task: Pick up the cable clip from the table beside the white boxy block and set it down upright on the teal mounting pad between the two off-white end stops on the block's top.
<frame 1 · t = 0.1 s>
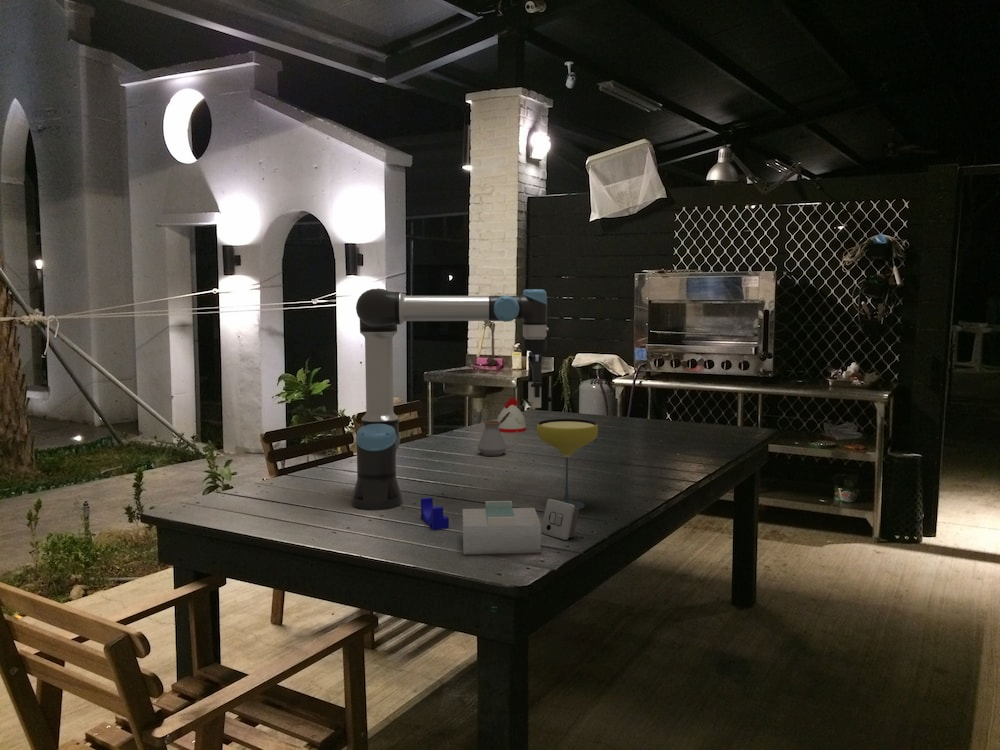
hand: (534, 404, 259), 28 cm above the table, fingers open, 13 cm apart
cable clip: (434, 524, 225), on the table
white boxy block: (500, 543, 207), on the table
coffee pot: (497, 452, 325), on the table
kitchen timer: (511, 430, 377), on the table
cocktail glass: (566, 506, 243), on the table
electrical switch: (559, 535, 214), on the table
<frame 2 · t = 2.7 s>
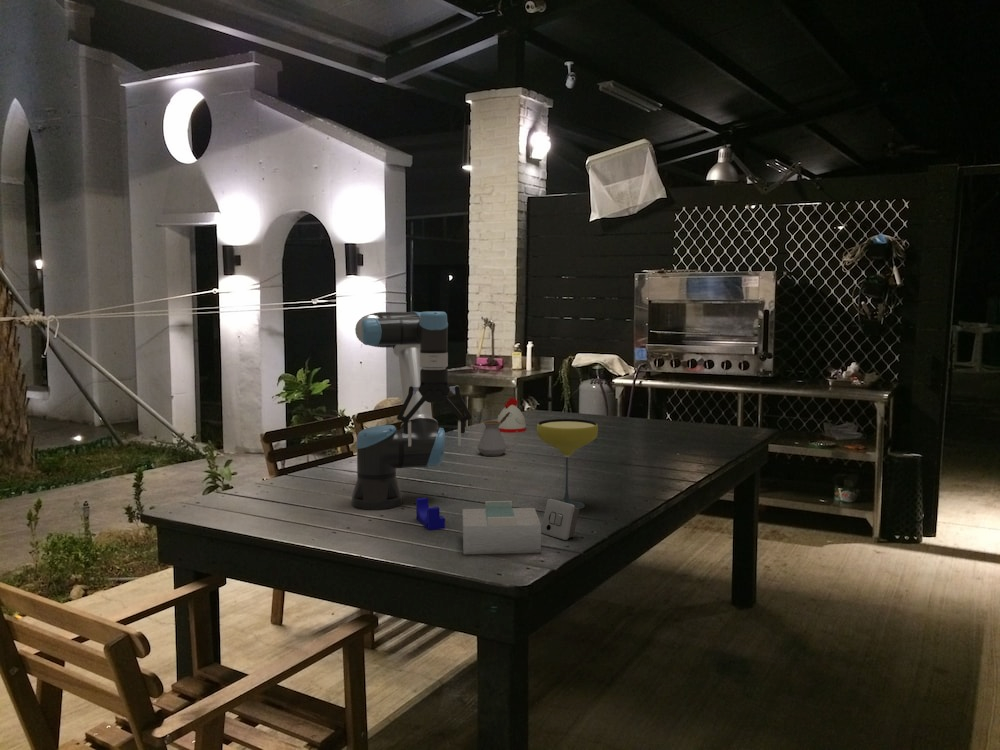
hand: (434, 445, 223), 22 cm above the table, fingers open, 13 cm apart
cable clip: (430, 524, 225), on the table
everything else where it was.
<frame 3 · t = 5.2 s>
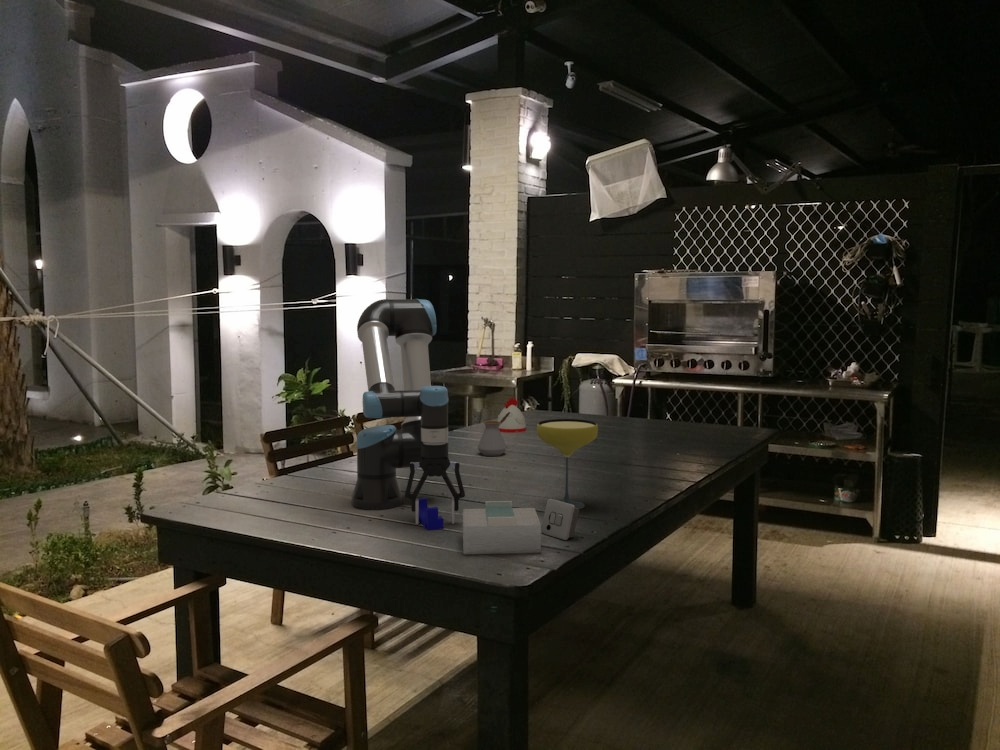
hand: (435, 522, 225), 0 cm above the table, fingers open, 9 cm apart
nothing on the table moved.
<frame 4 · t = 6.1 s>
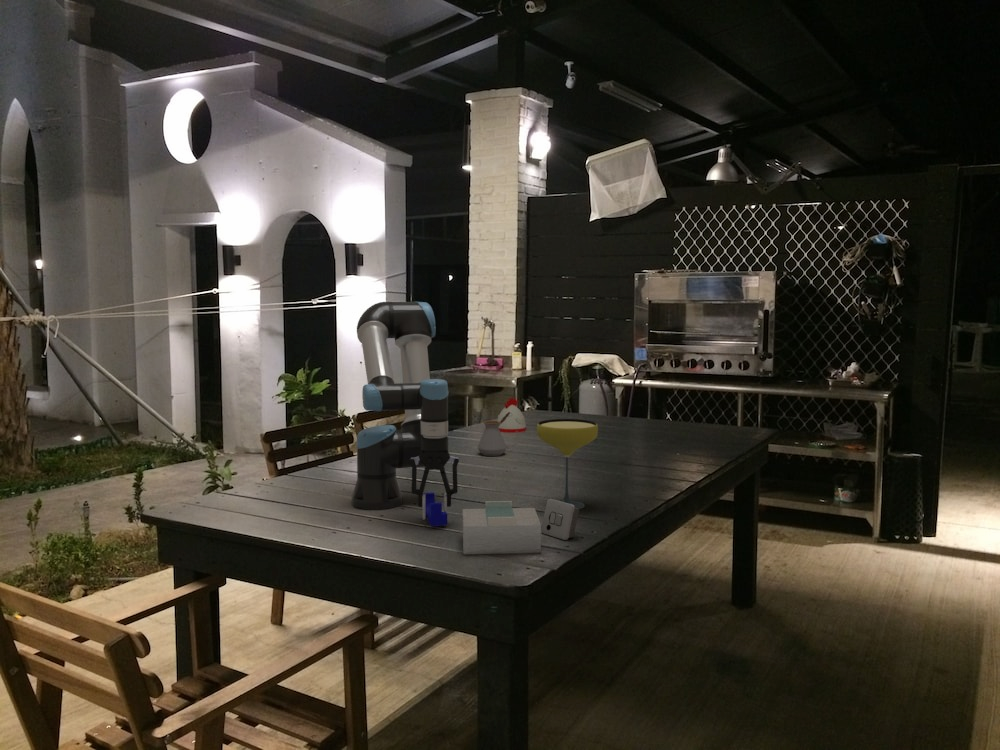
hand: (434, 517, 226), 1 cm above the table, fingers closed on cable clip, 5 cm apart
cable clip: (435, 519, 225), point 1 cm above the table, touching gripper
everything else where it was.
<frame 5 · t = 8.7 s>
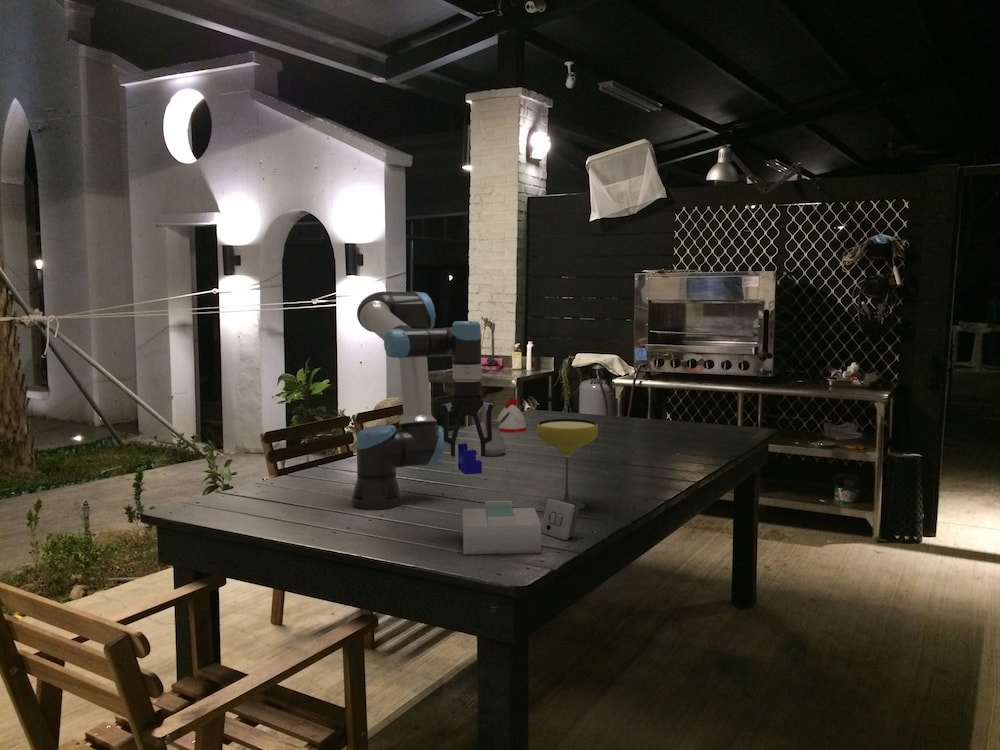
hand: (468, 468, 213), 18 cm above the table, fingers closed on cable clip, 5 cm apart
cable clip: (468, 470, 213), point 17 cm above the table, touching gripper
everything else where it was.
when the fingers open (9 cm above the table, at t = 11.3 s): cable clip stays where it is, resting on white boxy block.
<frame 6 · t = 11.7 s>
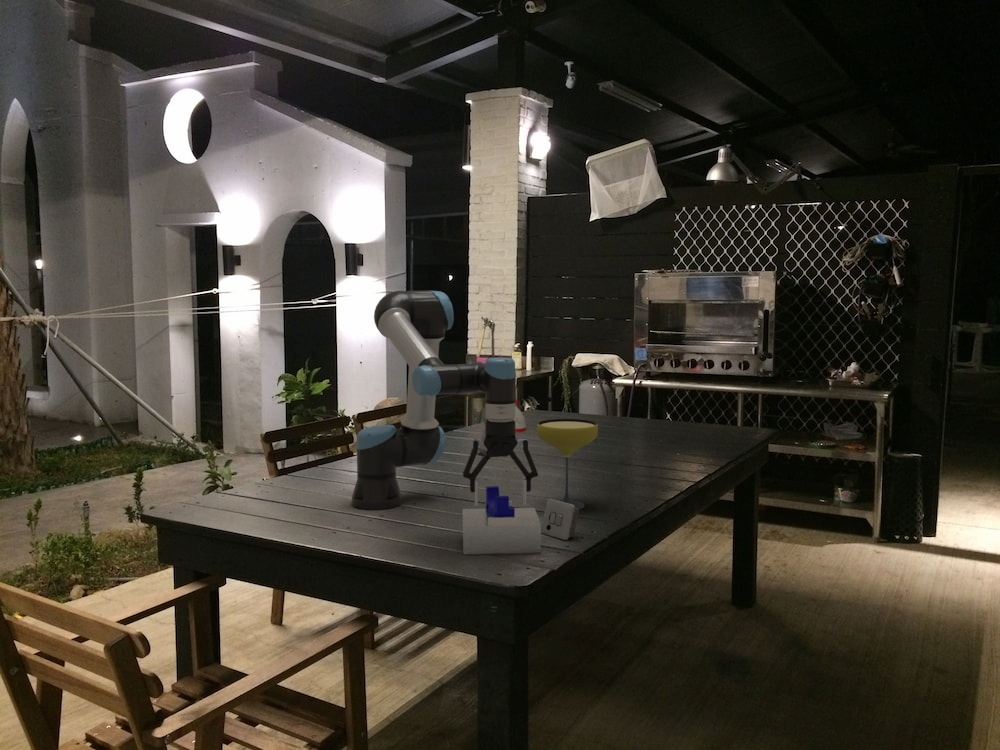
hand: (500, 504, 206), 10 cm above the table, fingers open, 11 cm apart
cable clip: (500, 515, 206), point 7 cm above the table, touching white boxy block
everything else where it was.
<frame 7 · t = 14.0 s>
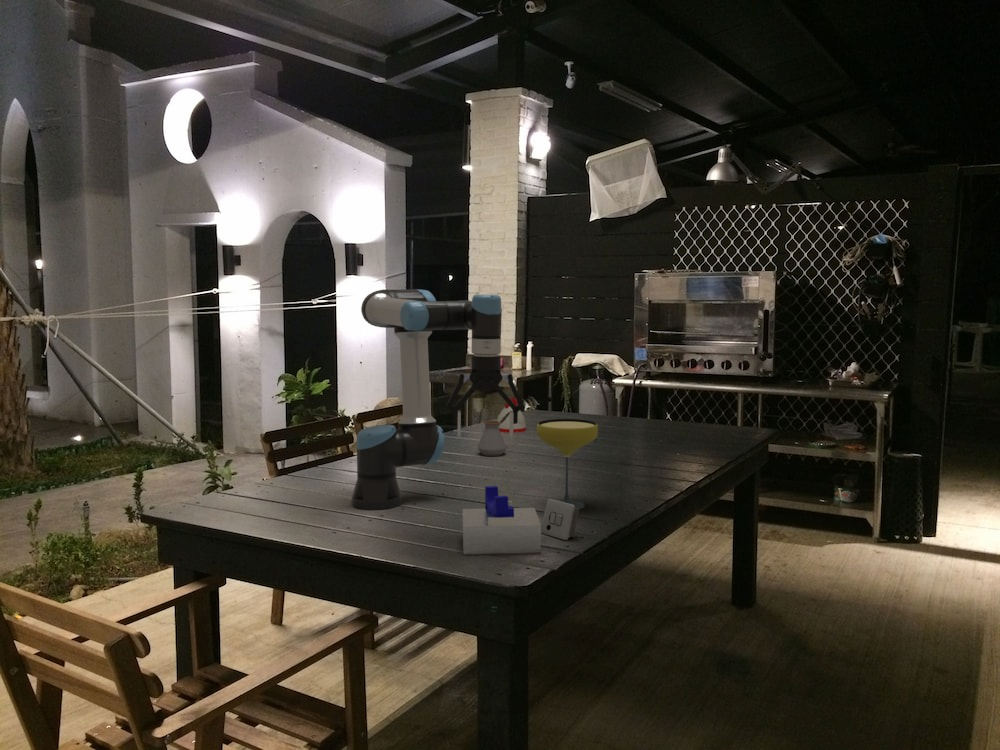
hand: (485, 436, 211), 26 cm above the table, fingers open, 13 cm apart
nothing on the table moved.
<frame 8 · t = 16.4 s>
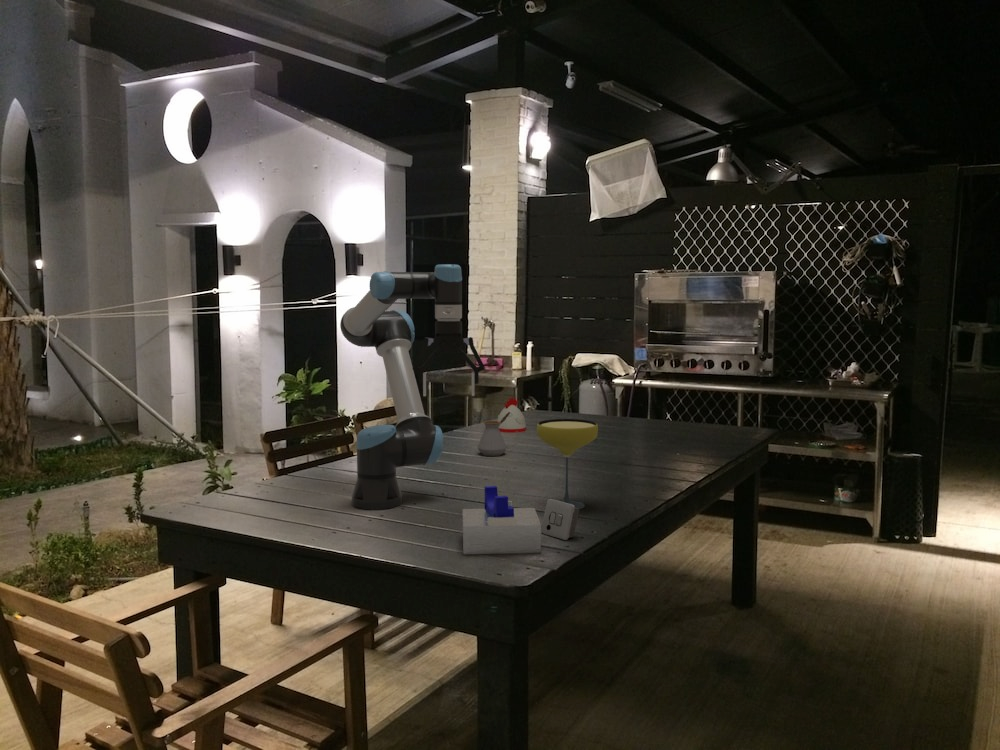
hand: (448, 395, 229), 35 cm above the table, fingers open, 13 cm apart
nothing on the table moved.
at the end: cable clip 0.4 cm off-centre on the white boxy block, point 7.4 cm above the white boxy block's base; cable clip tilted 0°; the gripper is holding nothing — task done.
